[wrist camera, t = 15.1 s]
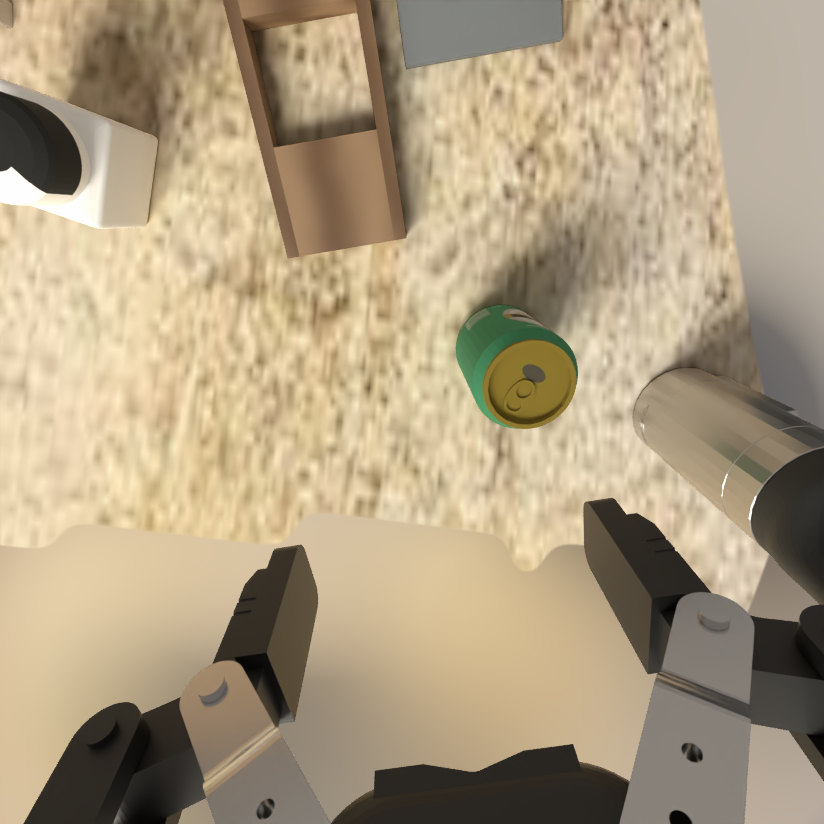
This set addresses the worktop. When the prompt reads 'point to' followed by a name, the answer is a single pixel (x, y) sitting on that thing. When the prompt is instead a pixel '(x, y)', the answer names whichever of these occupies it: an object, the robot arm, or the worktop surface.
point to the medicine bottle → (73, 161)
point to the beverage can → (516, 367)
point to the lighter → (6, 13)
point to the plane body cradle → (322, 144)
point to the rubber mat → (474, 27)
